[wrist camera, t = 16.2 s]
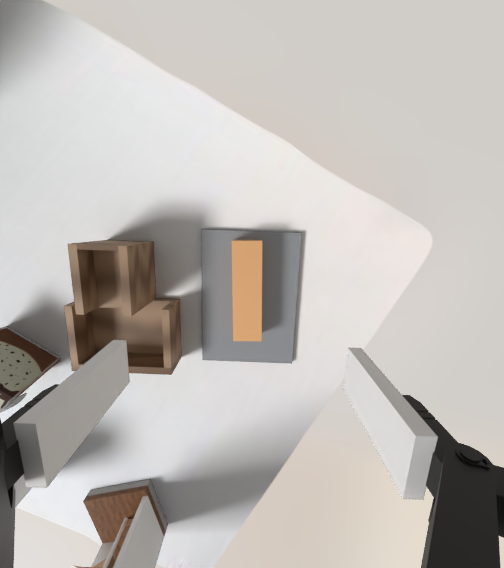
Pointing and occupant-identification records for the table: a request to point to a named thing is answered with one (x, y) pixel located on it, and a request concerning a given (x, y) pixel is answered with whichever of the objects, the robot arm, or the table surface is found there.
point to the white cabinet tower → (127, 525)
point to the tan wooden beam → (247, 290)
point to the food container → (20, 366)
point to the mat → (275, 296)
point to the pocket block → (121, 306)
